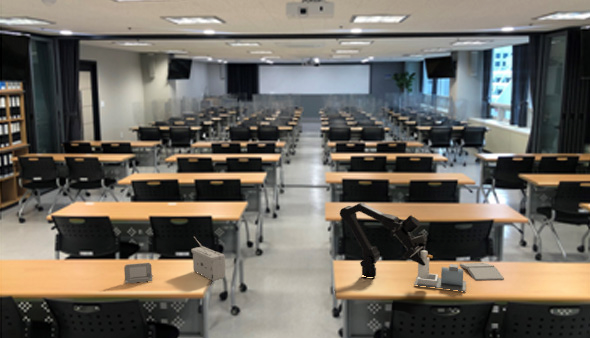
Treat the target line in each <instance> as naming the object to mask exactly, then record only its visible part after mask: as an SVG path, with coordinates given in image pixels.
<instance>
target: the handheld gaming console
mask: <svg viewBox="0 0 590 338" xmlns="http://www.w3.org/2000/svg"><path fill="white" fill-rule="evenodd" d="M123 270H124V281H125V282H124V285H128V284H127V283H132V284H138V283H137V282H143V283H147V282H146V281H152V282H153V279H152V277H153V278H154V275H153V272H152V271H153V270H152V263H150V262H142V263H141V262H140V263H129V264H127V263H126V264H125V265H124V269H123Z"/></svg>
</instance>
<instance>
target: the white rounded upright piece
mask: <svg viewBox="0 0 590 338" xmlns="http://www.w3.org/2000/svg"><path fill="white" fill-rule="evenodd" d="M421 258H422V260H423V261H424V263H425V265H424V266H423V265H421V264H419V263H417V276H418V277H420V278H428V277H429V274H430V259H433V255H431V254H429V253H428V250H422V251H421Z"/></svg>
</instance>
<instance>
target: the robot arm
mask: <svg viewBox="0 0 590 338" xmlns="http://www.w3.org/2000/svg"><path fill="white" fill-rule="evenodd" d="M357 213H362V214H364V215H366V216H368V217H370V218H372V219H374V220H375V221H378V222H380V224H381V225H382V226H383V227H385V228H386V229H387V230H389V231H390V230H391V231H390V237H396V238H397V239H398V240H399V242H400V243H401V244H400V245H401V246H404V247H405V249H406V252H404V253H403V254H402V257H403V259H404V260H411V261H413V262H415V263H417V264H418V263H419V264H421V265H423V266H424V265H425V263H424V261H423V260H422V258H421V251H422V250H425V249H426V244H427V241H428V239H427V234H426V233H424V232H423V231H422V232H419V233H418V235H417V236H414V235H413V234H412V235H411V234H410V233H413V232H415V231H416V230H417V229H418V228H419V227H420V226H421V222H420V221H419V220H418V218H416V217H415V216H413V215H411V214H410V215H409V216H407V218H406V219H401V218H399V216H397V215H394V214H388V213H384V212H382V211H380V210H378V209H376V208H373V207H371V206H369V205H367V204H365V203H364V202H359V203H357V204H355V205H353V206H351V205H347V206H346V207H343V208H341V209H340V211H339V216H340V218H341V219H342V220H343V222H345V223H346V224H347V225H348V226H349V228H350V229H351V231H352V233H353V235H354V237H355V238H356V240H357V242H358V244H359V246H360V247H361V249H362V257H363V259H362V260H361V261H360V262H359V264H360V267H361V276H362V275H364V276H366V277H374V278H375V277H376V276H377V267H376V263H377V262H379V260H380V258H381V256H380V253H381V252H380V251H379V250H378V247H377V246H376V245H375V246H373V245H372V244H371V243H370V241H369V240H368V238H367V235H366V234H365V232H364V230H363V228H362V227H361V225H360V223H359V222H358V217H357ZM425 251H426V250H425Z"/></svg>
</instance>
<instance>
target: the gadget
mask: <svg viewBox="0 0 590 338" xmlns="http://www.w3.org/2000/svg"><path fill="white" fill-rule="evenodd" d="M459 267H461V268H462V269H465V270H467V271H468V273H469V274H470V276H471V277H472V279H473V280H474V279H475V281H501V280H503V281H504V280H505V278H504V275H502V274H501V272H500V271H499V270H498V268H497V267H496V266H495V265H493V264H490V263H488V262H470V263H469V262H467V263H465V262H464V263H459Z"/></svg>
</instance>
